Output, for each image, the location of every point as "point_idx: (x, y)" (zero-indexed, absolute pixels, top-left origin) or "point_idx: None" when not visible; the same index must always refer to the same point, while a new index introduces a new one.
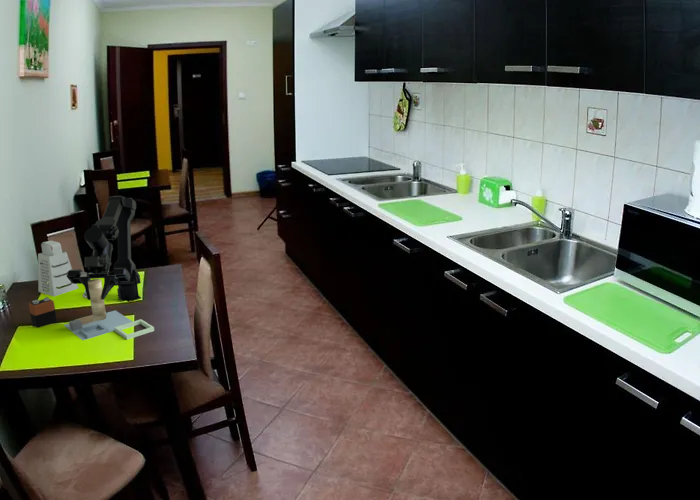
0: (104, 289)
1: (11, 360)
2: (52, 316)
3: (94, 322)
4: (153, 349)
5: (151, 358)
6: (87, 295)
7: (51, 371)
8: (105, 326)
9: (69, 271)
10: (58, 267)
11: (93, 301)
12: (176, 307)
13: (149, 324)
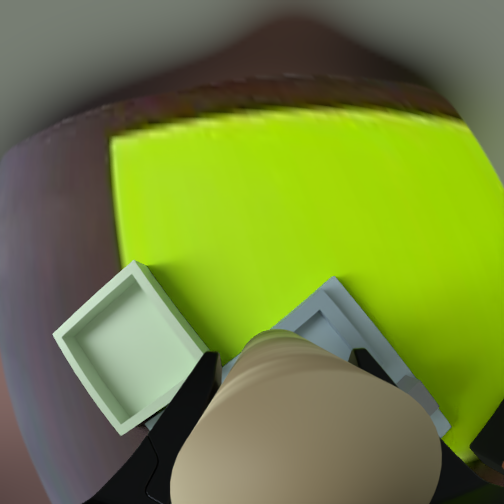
0: (172, 426)
1: (489, 178)
2: (497, 444)
3: None
4: (61, 204)
5: (67, 148)
6: (379, 373)
7: (345, 88)
8: None
9: None
10: None
11: (302, 339)
12: None
13: (72, 367)
